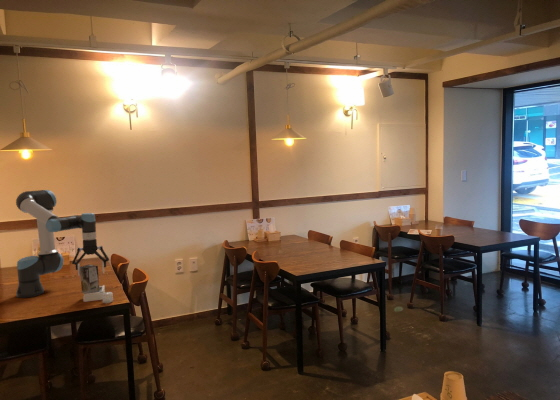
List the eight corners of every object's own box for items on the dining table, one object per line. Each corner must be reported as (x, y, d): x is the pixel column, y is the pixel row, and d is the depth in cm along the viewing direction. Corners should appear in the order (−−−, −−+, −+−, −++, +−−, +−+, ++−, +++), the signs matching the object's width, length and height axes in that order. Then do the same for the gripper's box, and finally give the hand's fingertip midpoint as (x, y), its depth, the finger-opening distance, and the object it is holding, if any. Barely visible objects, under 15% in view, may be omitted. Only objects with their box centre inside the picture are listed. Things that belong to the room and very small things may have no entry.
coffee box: (100, 291, 260) (98, 265, 259) (90, 294, 255) (88, 268, 253) (91, 289, 265) (89, 264, 264) (81, 292, 260) (79, 266, 258)
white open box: (83, 301, 252) (82, 293, 252) (85, 295, 265) (85, 287, 265) (103, 299, 256) (103, 291, 255) (105, 292, 269) (104, 285, 268)
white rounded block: (102, 303, 247) (101, 295, 247) (102, 301, 253) (102, 292, 252) (112, 302, 249) (112, 294, 249) (113, 299, 254) (112, 291, 254)
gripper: (65, 241, 250) (67, 277, 252) (111, 238, 258) (113, 273, 260) (67, 239, 257) (69, 274, 259) (112, 236, 265) (113, 270, 267)
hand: (91, 273), depth 259 cm, fingers open, 13 cm apart
